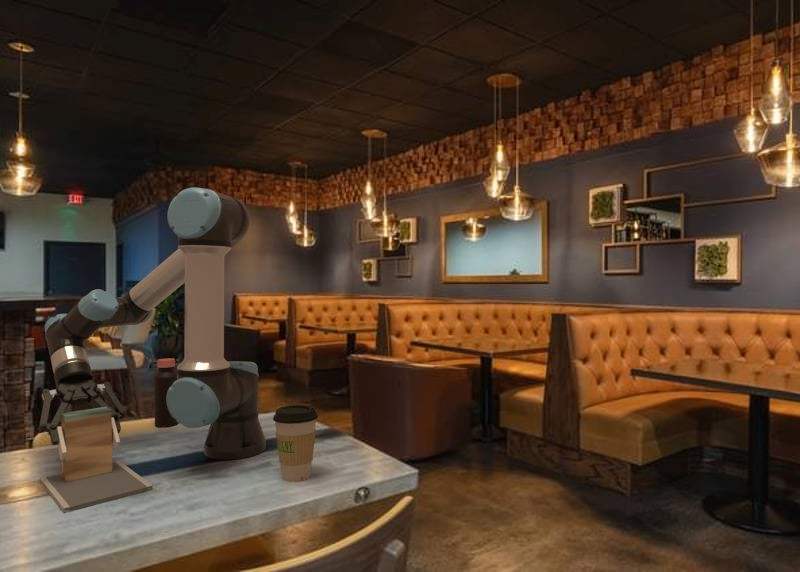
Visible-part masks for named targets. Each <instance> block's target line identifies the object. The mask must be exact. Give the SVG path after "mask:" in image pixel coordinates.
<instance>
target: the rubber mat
mask: <svg viewBox="0 0 800 572" xmlns="http://www.w3.org/2000/svg"><path fill="white" fill-rule="evenodd" d="M39 483H40V484H41V486H42V487H43V488H44V489H45V491H46V492H47V493H48V494H49V496H50V497H51V498H52V499H53V501H54V502H55V503H56V505H57V506H58V507H59V509H60V510H61V511H62V512H63V514H64V513H69V512H72V511H76V510H79V509H83V508H84V509H85V508H88V507H91V506H95V505H99V504H102V503H107V502H111V501H114V500H118V499H122V498H125V497H129V496H133V495H137V494H141V493H144V492H149V491H152V490H153V484H151V483H150V482H148V481H147V480H146V479H144V478H143V477H142V476H140V475H139V474H138V473H136V472H135V471H134V470H133V469H131V468H129V467H128V466H127V465H125V464H124V462H122V461H120V460H117V461H114V462H113V461H112V472H108V473H104V474H99V475H95V476H91V477H86V478H82V479H78V480H73V481H69V482H66V481H65V480H64V479H63V478H62V473H59V474H53V475H50V476H49V475H48V476H44V477H39Z"/></svg>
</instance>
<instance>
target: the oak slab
mask: <svg viewBox="0 0 800 572" xmlns="http://www.w3.org/2000/svg"><path fill="white" fill-rule="evenodd" d="M60 426H61V427H62V432H63V437H64V442H65V446H66V451H67V453H66V456H65V459H62V460H61V474H62V478H63V479H64V480H65V481H66V482H69V481H73V480H78V479H82V478H86V477H91V476H95V475H99V474H104V473H108V472H112V463H113V443H112V416H111V409H110V408H108V407H101V408H91V409H89V408H88V409H84V410H83V409H81V410H76V411H70V412H65V413H62V414H61V421H60Z"/></svg>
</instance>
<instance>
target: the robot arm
mask: <svg viewBox="0 0 800 572" xmlns="http://www.w3.org/2000/svg"><path fill="white" fill-rule="evenodd" d="M250 218H251V217H250V214H249V211H248V209H247V207H246V206H245V204H244V203H243V202H242V201H241V200H239V198H236V197H234V196H232V195H227V194H224V193H220V192H218V191H215V190H212V189H210V188H201V187H188V188H185V189H183V190H181V191H180V192H179V193H178V194H177V195H176V196H174V198H172V200H171V202H170V204H169V206H168V210H167V223H168V226H169V228H170V229H171V230H172V231H173V234H175V235H176V236H177V250H176V251H174V252H173V253H171V254H170V255H169V256H168V257H167V258H166V259H165V260H164V261H162V262H161V263H160V264H159V265H157V267H155V268H154V269H153V270H152V271H151V272H150V273H147V275H146V276H145V277H143V279H141V280H140V281H139V282H137V284H135V286H133V287H132V288H131V289H130V290H128V291H127V292H126V293H124V294H123V295H122V296H119V297H117V296H116V297H115V296H114V295H113V294H112V293H110V292H109V291H107V290H106V291H104V290H103V289H99V288H98V289H94V290H91V291H90V292H89V293H88V294H86V295H85V296H83V297H82V298H81V299H80V300H79V302H78V303H77V304H76V305H75V306H73V308H71V309H70V311H69V312H67V313H58V314H56V315H55V316H51V317H50V318H49V319H47V321H46V322H45V324H44V332H45V333H44V336H45V337H44V338H45V341H46V345H47V348H48V353H49V358H50V361H51V366H52V372H53V377H54V381H55V386H56V387H55V389H51V390H49V388H44V389H43V391H42V394H41V400H42V410H41V416H40V420H39V425H38V433H40V434H42V433H47V434H48V436H50V442H51V443H50V444H51V445H52V446H57V449H58V453H59V454H58V455H59V458H60V460H61V461H62V459H65V456H66V453H67V451H66V446H65V442H64V437H63V432H62V427H61V425H60V424H61V414H62V413H66V411H67V410H68V407H70V406H76V405H79V404H88V405H89V406H90V407H93V409H95V408H101V407H108V408H110V409H111V416H112V448H113V449H114V450H116V449H118V448H119V445H120V443H121V439H120V436H119V434H120V432H121V430H122V426H121V423H120V422H121V421H120V420H123V419H124V418H125V415H126V412H127V411H126V409H125V407H124V406H123V404H122V403H121V402H120V400H119V399H118V397H117V395H116V394H115V392H114V391H113V390H112V386H111V383H110V381H105V382H104V383H101V384H99V383H98V384H97V382H95V379H94V377H93V372H92V368H91V366H90V361H89V360H90V359H89V357H88V353H87V349H86V345H85V344H86V341H87V340H89V339H90V337H92V336H93V335H94V334H95V333H96V332H97V331H98V330H99V329H103V328H113V327H119V326H120V327H122V326H135V325H139V324H143V323H146V322H147V321H148V320H150V318H151V316H152V314H153V311H154V308H155V307H157V306H158V305H160V304H161V302H163V301H164V300H166V299H167V298H168V297H169V296H171V294H173V293H174V292H175V291H177V289H178V288H180V287H181V286H182V285H184V358H183V361H181V362H180V363H179V364H178V365H177V367H176V373H177V381H175V382H174V383H173V384H172V386H171V387H170V388H169V390H168V392H167V397H166V402H167V407H168V410H169V412H170V414H171V415H172V417H173V418H175V419H176V420H177V422H178V424H179V425H181V426H183V427H186V428H190V429H191V428H192V429H197V428H198V429H199V428H201V427H207V426H209V429H208V432H207V434H206V437H205V442H204V445H203V454H204V457H206V458H208V459H209V458H210V459H214V460H219V461H220V460H223V461H227V460H230V461H231V460H238V459H240V460H241V459H246V458H250V457H254V456H257V455H258V454H262V453H263V452H264V451H265V450H266V446H267V444H266V443H267V442H266V437H265V433H264V432H263V431H264V430H263V427H262V425H261V422H260V420H259V418H260V417H259V377H260V376H259V375H260V374H259V368H258V365H257V363H255V362H253V361H235V360H234V361H230V360H228V361H227V360H226V359H225V357H224V356H225V353H224V352H225V256H226V255H227V254H228V253H229V252H230V251H232V250H233V249H234V248H235V247H236V246H237V245H238V244H239V243H240V242H241V241H242V240H243V239H244V238H245V236H246V235H247V233H248V232H249V229H250V226H251V225H250V223H251V222H250V221H251V219H250ZM97 391H99V392H100V394H101V395H103V397H104V399H105V401H106V402H105V401H104V400H103V399H102V398H101V397H100V396H99V395H98V393H97ZM55 396H56V397H57V398H58V399H60V400H62V402H61V403H60V404H59V407H58V409H57V411H56V413H55V415H54V417H53V419H52V421H51V422H50V423H48V419H49V418H48V417H49V413H50V407H51V402H52V401H53V400H54V398H55Z"/></svg>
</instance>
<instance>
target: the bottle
mask: <svg viewBox="0 0 800 572" xmlns="http://www.w3.org/2000/svg"><path fill="white" fill-rule="evenodd" d="M156 363H157V369H158V372H157V373H156V374H155V375H154V381H153V383H154V385H153V386H154V389H153V390H154V394H153V395H154V426H155V427H156V428H171V427H174V426H177V425H178V424H179V423H178V422H177V420H176V419H175V418H173V417H172V415H171V414H170V412H169V410H168V407H167V402H166V397H167V392H168V390H169V388H170V387H171V386H172V384H173V383H174V382H175V381H177V371H175V368H176V359H175V358H173V357H172V358H168V357H167V358H159V359H157V362H156Z"/></svg>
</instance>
